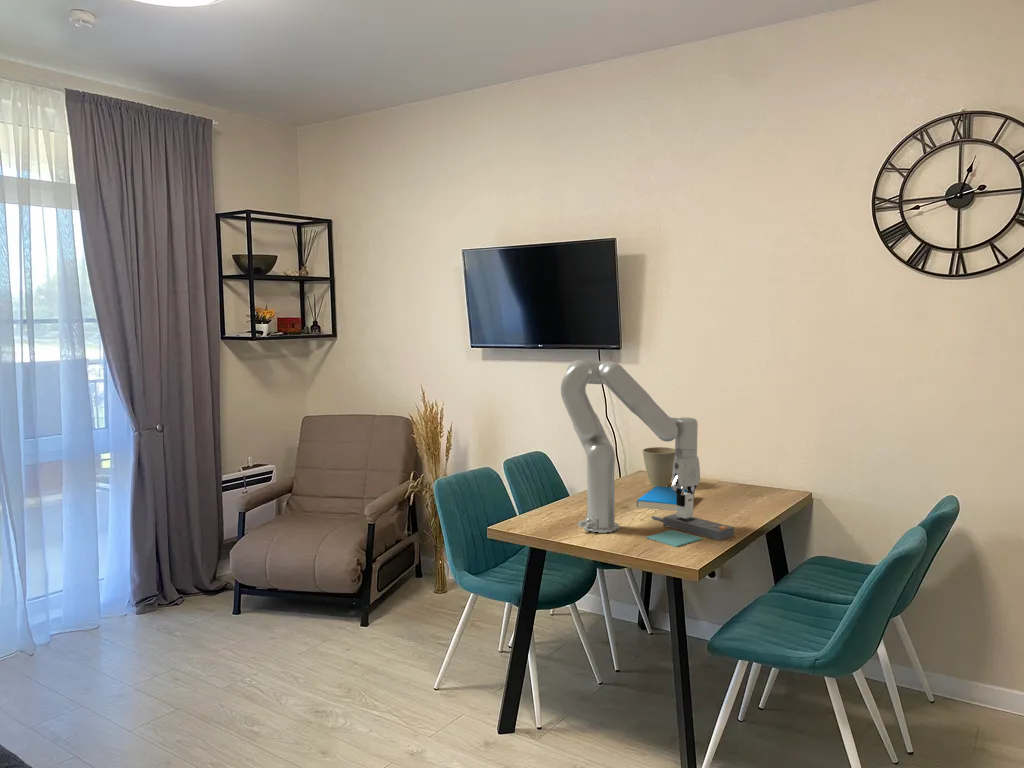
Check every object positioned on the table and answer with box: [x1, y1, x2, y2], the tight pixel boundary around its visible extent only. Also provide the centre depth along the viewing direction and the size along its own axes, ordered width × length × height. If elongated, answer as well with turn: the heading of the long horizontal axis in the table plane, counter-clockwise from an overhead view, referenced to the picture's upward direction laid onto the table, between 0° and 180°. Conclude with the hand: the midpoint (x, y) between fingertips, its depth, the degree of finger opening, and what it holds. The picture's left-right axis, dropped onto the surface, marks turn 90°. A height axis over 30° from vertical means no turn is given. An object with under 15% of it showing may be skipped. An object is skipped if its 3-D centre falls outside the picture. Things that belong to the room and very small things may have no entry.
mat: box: [645, 529, 703, 548], centre depth 252 cm, size 13×13×1 cm
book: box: [636, 486, 696, 512], centre depth 299 cm, size 17×4×25 cm
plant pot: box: [642, 446, 675, 487], centre depth 328 cm, size 15×15×16 cm
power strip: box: [650, 513, 735, 541], centre depth 264 cm, size 33×8×4 cm, turn 38°
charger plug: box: [676, 492, 694, 518], centre depth 264 cm, size 4×4×8 cm
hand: (685, 504), depth 264 cm, fingers closed on charger plug, 4 cm apart
